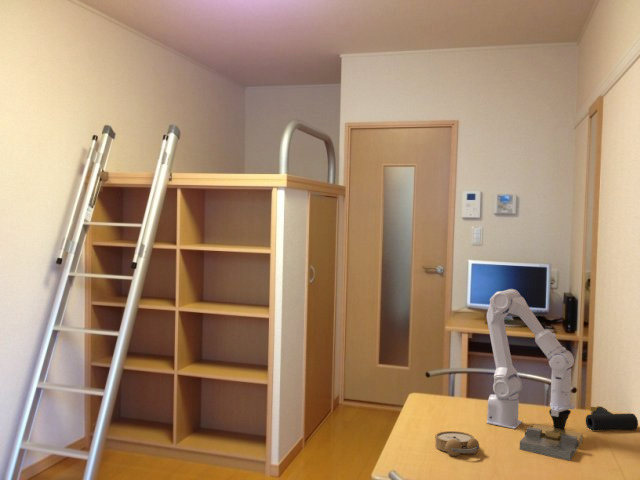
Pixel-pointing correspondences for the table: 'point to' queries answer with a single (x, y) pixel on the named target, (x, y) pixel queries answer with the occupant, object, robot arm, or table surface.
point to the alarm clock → (456, 443)
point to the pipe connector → (610, 420)
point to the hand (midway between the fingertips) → (559, 433)
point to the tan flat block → (557, 433)
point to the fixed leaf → (549, 444)
